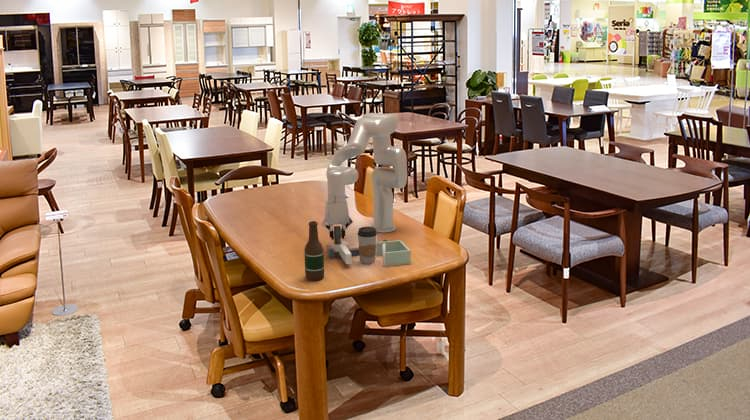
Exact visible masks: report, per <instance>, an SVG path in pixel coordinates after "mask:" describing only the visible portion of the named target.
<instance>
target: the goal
mask: <svg viewBox="0 0 750 420" xmlns="http://www.w3.org/2000/svg"><path fill="white" fill-rule="evenodd" d="M377 238H378V236H377V235H376V253H375V257H379V256H382V267H383V268H385V267H393V266H402V264H403V265H409V263H411V257H412V256H411V253H412V252H411V249H410V248H409V247H408V246H407V245H406V243H404V242H403V241H402V240H398V239H397V240H389V241H388V240H387V242H383V241H379V242H378V241H377V240H378V239H377Z"/></svg>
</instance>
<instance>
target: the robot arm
mask: <svg viewBox="0 0 750 420" xmlns="http://www.w3.org/2000/svg"><path fill="white" fill-rule="evenodd" d="M398 121H399V120H398V117H396V115H394V114H389V113H380V112H379V113H378V112H376V113H375V112H367V113H365V114H363V115H362V117H361V118H359V119H357V120H356V122H355V123H354V125H353V128H352V131H351V134H350V136H349V139H348V141H347V143H346V145H344V146H343V147H342V148H341V147H340V149H339V150H338V151H336V152H335V153H334V154H333V156H332V157H331V158H330V161H329V163H328V165H327V169H326V179H327V201H325V207H324V218H323V220H322V221H321V223H320V224H321V226H322V227H324V228H326V229H327V230H328V231H329V233H328V234H329V238H330V239H331V241H334V226H335V225H341V240H342V239H343V240H344V239H345V237H346V230H347V228H349V226H350V225H352V224H353V223H354V221H353V220H352V218H351V217H350V214H349V206H348V205H349V204H348V201H347V199H349V194H346V186H349V185H353V184H355V183H357V181H358V180H359V171H358V169H356V168H354V167H351V166H344V165H342V164H343V163H345V162H346V161H347V160H350V159H352V158H355V157H358V156H361V155H363V154H364V153H365V151H366V148H367V146H368V143H369V141H370V138H372V146H373V148H372V149H373V160H374V163H375V164H377V165H380V166H378V167H375V168H373V170H372V172H371V183H372V187H373V188H372V189H373V224H372V225H371V226H370V227H373V228H375V229H376V231H377V233H378V234H379V233H382V234H385V233H386V234H387V233H393V232H395V231H396V230H397V226H396V225H395V224H394V194H393V191H392V189H403V188H404V187H405V186H406V184H407V181H408V168H407V167H408V165H407V161H408V160H407V153H406V151H405V150H404V148H402V147H400V146H393V145H392V143H391V141H392V140H391V135H392V134H393V133H394V132H395V131H397V128H398V125H399V123H398ZM386 166H387V167H386ZM391 188H392V189H391Z"/></svg>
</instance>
